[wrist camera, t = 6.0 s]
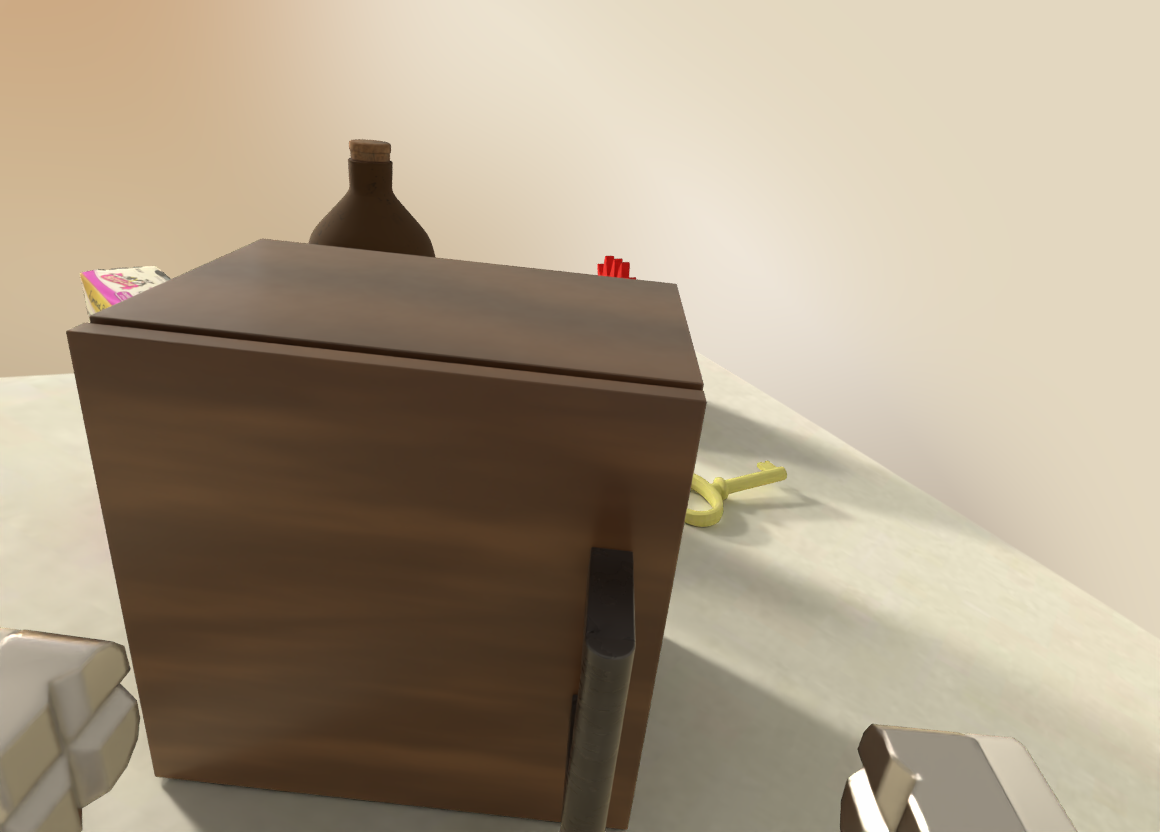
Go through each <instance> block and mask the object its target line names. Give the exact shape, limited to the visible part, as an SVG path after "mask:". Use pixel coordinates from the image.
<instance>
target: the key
mask: <svg viewBox="0 0 1160 832" xmlns="http://www.w3.org/2000/svg"><path fill="white" fill-rule="evenodd" d="M757 467H758V468H759V469H760V470H761V472H757V473H753V474H749V475H745V476H740V477H736V478H732V479H728V480H724V479H723V478H721V477H717V478H715V480H714V482H713V483H712V484H710V483H709V482H708V481H706V480H705V479H703V478H702V477H700V476H698V475H696V474H694V473H693V479H692V484H691V489H693V490H695V491H696V492H698V493H699V494H701V495H702V496H703V497H704V498H705V499H706V500H707V501H708V502H709V503H710V505H711V506H712V507H713V508H712V509H710V510H708V511H694V510H690V509H688V508H687V511H686V517H685V523H688V524H690V525H694V526H699V527H706V526H711V525H714V524H716V523H718V522H719V520H720V519H721V517H722V514H723V502H722V500H725V499H726V498H727V497H728V494H730V493H734V492H738V491H742V490H746V489H750V488H754V487H758V486H762V485H766V484H770V483H774V482H778V481H782V480H785V479H786V478H787V473H786V470H785V469H784V467H775V466H774V465H773V464H772V463H770V462H769V461H765V463H762V462H760V463H757Z"/></svg>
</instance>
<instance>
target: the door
mask: <svg viewBox="0 0 1160 832" xmlns="http://www.w3.org/2000/svg"><path fill="white" fill-rule="evenodd" d="M66 334H67V339H68V344H69V349H70V354H71V359H72V364H73V369H74V374H75V379H76V384H77V389H78V394H79V399H80V404H81V409H82V414H83V419H84V424H85V429H86V434H87V439H88V444H89V449H90V454H91V459H92V464H93V469H94V474H95V479H96V484H97V489H98V494H99V499H100V504H101V509H102V514H103V519H104V524H105V529H106V534H107V539H108V544H109V549H110V554H111V559H112V564H113V569H114V574H115V579H116V584H117V589H118V594H119V599H120V604H121V609H122V614H123V619H124V624H125V629H126V634H127V639H128V644H129V649H130V654H131V659H132V664H133V669H134V674H135V679H136V684H137V688H138V693H139V698H140V703H141V708H142V713H143V718H144V723H145V728H146V733H147V738H148V743H149V748H150V753H151V758H152V763H153V768H154V773H155V776H156V777H164V778H173V779H182V780H190V781H199V782H208V783H217V784H226V785H235V786H244V787H252V788H261V789H270V790H279V791H288V792H297V793H306V794H315V795H323V796H332V797H341V798H350V799H359V800H368V801H377V802H385V803H394V804H403V805H412V806H421V807H430V808H439V809H447V810H456V811H465V812H474V813H483V814H492V815H501V816H509V817H518V818H527V819H536V820H545V821H554V822H561V832H605V827H607V828H616V829H625V830H627V829H628V824H629V819H630V813H631V808H632V802H633V797H634V792H635V786H636V781H637V775H638V770H639V765H640V759H641V754H642V748H643V743H644V738H645V732H646V727H647V721H648V716H649V711H650V705H651V700H652V695H653V689H654V684H655V678H656V673H657V668H658V662H659V657H660V651H661V646H662V641H663V635H664V630H665V624H666V619H667V614H668V608H669V603H670V597H671V592H672V587H673V581H674V576H675V570H676V565H677V560H678V554H679V549H680V544H681V538H682V533H683V527H684V522H685V517H686V511H687V506H688V500H689V495H690V490H691V484H692V479H693V473H694V468H695V463H696V457H697V452H698V446H699V441H700V436H701V430H702V425H703V419H704V414H705V409H706V403H707V402H706V398H705V394H704V391H701V390H692V389H683V388H674V387H665V386H656V385H647V384H638V383H628V382H619V381H610V380H601V379H592V378H583V377H574V376H565V375H556V374H547V373H538V372H529V371H519V370H510V369H501V368H492V367H483V366H474V365H465V364H456V363H447V362H438V361H429V360H420V359H411V358H401V357H392V356H383V355H374V354H365V353H356V352H347V351H338V350H329V349H320V348H311V347H302V346H293V345H283V344H274V343H265V342H256V341H247V340H238V339H229V338H220V337H211V336H202V335H193V334H184V333H175V332H165V331H156V330H147V329H138V328H129V327H120V326H111V325H102V324H93V323H83V324H80V325H78V326H76V327H74V328H71V329H69V330H67V331H66Z"/></svg>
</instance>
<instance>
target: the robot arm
mask: <svg viewBox="0 0 1160 832" xmlns="http://www.w3.org/2000/svg"><path fill="white" fill-rule="evenodd" d="M129 671H130V666H129V662H128V658H127V654H126V651H125V647H124V646H123V645H120V644H117V643H115V642H112V641H105V640H98V639H90V638H83V637H75V636H68V635H61V634H53V633H46V632H39V631H31V630H17V629H9V628H2V627H0V832H81V831H82V808H83V807H85V806H87V805H88V804H90V803H92V802H93V801H95V800H96V799H98V798H100V797H101V796H103V795H105V794H106V793H108V792H109V791H111V789H112V788H113V786H114V785H115V783H116V782H117V781H118V779H119V778H120V776H121V775H122V773H123V772H124V770H125V769H126V768H127V766H128V763H129V760H130V758H131V755H132V753H133V750H134V748H135V745H136V742H137V740H138V733H139V723H140V715H139V710H138V704H137V700H136V699H135V698H134V697H133V696H132V695H131V694H130V693H129V692H128V691H127V690H126V689H125V688H124V687H123V686H122V685H121V684H120V682H121V681H122V680H123V678H124V677H125V676H126V675H127V673H128V672H129ZM858 752H859V755H860V758H861V761H862V764H863V766H864V767H863V768H862V769H861V770H859V771H858V772H856V773H855V774H853V775H852V776H851V777H849V778H848V779H847V782H846V785H845V789H844V792H843V796H842V799H841V813H840V831H841V832H1078V831H1077V830H1076V828H1075V827H1074V825H1073V823H1072V822H1071V820H1070V818H1069V817H1068V815H1067V814H1066V812H1065V810H1064V809H1063V807H1062V805H1061V804H1060V802H1059V801H1058V799H1057V797H1056V796H1055V794H1054V792H1053V791H1052V789H1051V788H1050V786H1049V784H1048V783H1047V781H1046V779H1045V778H1044V776H1043V775H1042V773H1041V771H1040V770H1039V768H1038V766H1037V765H1036V763H1035V762H1034V760H1033V758H1032V757H1031V755H1030V753H1029V752H1028V750H1027V749H1026V748H1025V746H1024V745H1022V744H1021V743H1020V742H1019V741H1017V740H1016V739H1015V738H1010V737H1000V736H990V735H980V734H970V733H966V734H962V733H959V732H949V731H938V730H928V729H918V728H908V727H898V726H888V725H878V724H871V725H870V726H869V727H868V728H867V729H866V730H865V731H864V733H863V736H862V738H861V741H860V744H859V747H858Z"/></svg>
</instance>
